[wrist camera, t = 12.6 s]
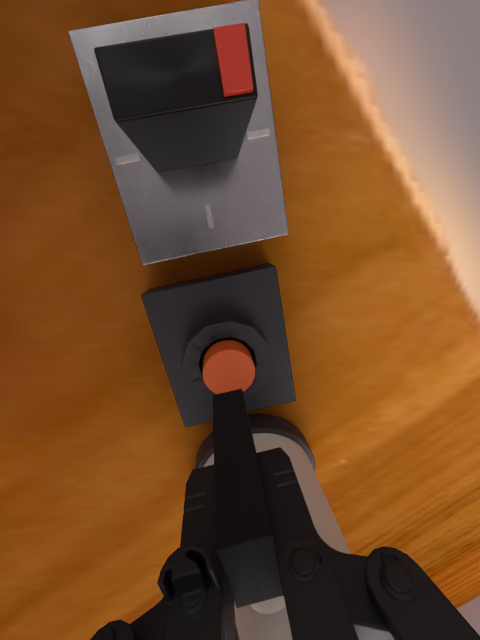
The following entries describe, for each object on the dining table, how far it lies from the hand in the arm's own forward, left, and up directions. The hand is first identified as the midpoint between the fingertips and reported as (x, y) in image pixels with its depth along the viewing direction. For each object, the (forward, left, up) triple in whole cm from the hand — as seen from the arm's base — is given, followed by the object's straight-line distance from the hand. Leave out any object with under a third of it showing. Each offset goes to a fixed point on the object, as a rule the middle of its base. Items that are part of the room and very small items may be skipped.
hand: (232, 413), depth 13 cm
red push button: (0, 0, -6) cm, 6 cm away
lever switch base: (-14, +1, -10) cm, 17 cm away
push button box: (0, 0, -10) cm, 10 cm away
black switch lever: (-14, +1, -7) cm, 15 cm away
